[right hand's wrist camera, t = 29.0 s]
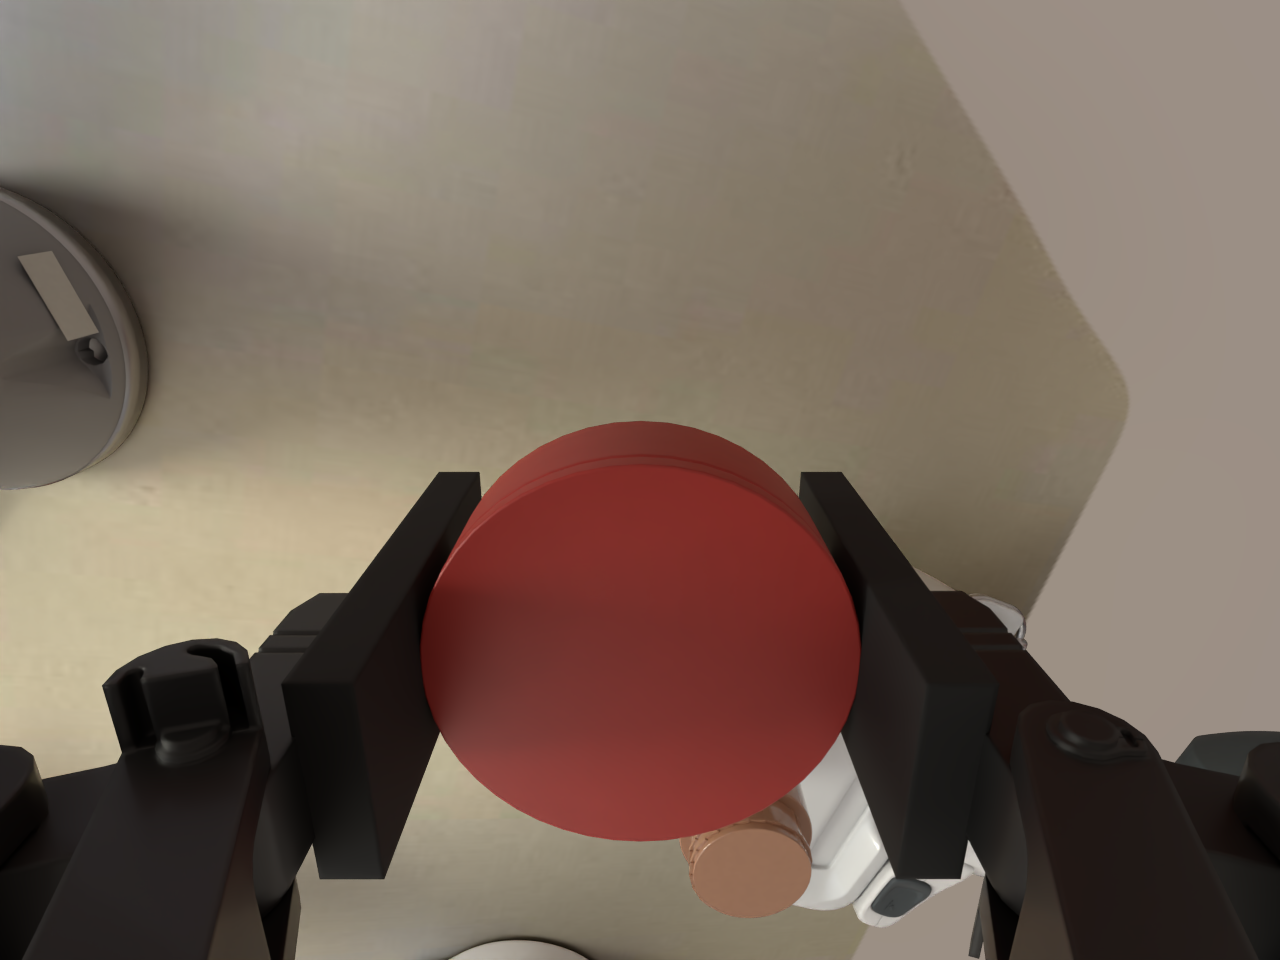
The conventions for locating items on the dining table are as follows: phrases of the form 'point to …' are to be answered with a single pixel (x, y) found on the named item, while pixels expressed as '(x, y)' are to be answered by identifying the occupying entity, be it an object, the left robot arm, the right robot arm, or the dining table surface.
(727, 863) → the jar
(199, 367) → the dining table surface
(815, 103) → the dining table surface
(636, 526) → the lid
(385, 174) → the dining table surface
